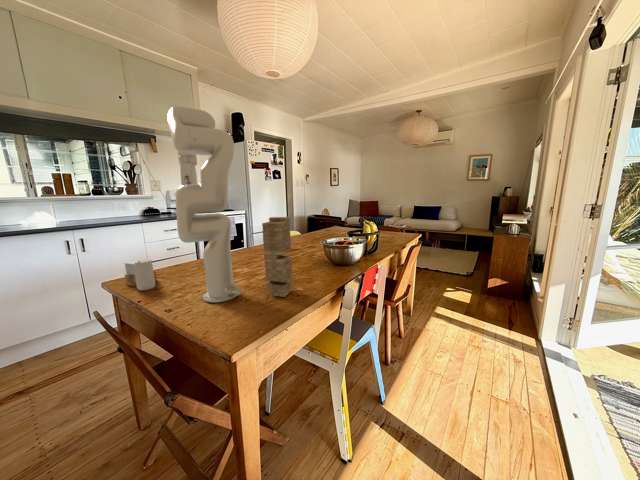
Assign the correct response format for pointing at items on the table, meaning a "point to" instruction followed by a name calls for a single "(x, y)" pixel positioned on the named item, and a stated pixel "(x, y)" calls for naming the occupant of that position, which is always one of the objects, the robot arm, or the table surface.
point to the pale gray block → (131, 267)
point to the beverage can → (144, 274)
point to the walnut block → (134, 279)
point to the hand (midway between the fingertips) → (192, 199)
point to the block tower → (277, 255)
